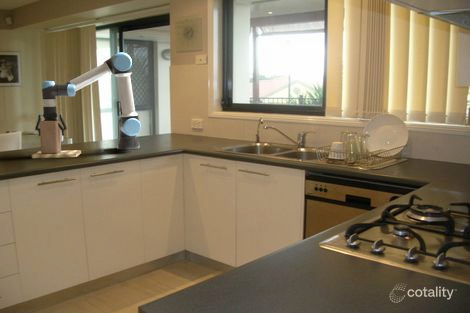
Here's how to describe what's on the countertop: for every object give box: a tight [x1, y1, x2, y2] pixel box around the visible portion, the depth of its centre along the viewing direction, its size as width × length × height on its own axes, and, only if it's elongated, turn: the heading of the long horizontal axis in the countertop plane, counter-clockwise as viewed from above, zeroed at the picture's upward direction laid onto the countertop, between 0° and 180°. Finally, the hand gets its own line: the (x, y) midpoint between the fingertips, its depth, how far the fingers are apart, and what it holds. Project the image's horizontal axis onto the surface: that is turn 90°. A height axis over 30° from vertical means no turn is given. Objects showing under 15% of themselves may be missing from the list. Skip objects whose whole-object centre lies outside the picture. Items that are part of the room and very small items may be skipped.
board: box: [31, 149, 82, 159], centre depth 287 cm, size 26×16×2 cm, turn 99°
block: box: [39, 120, 62, 154], centre depth 284 cm, size 10×10×20 cm
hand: (52, 141), depth 285 cm, fingers open, 11 cm apart
